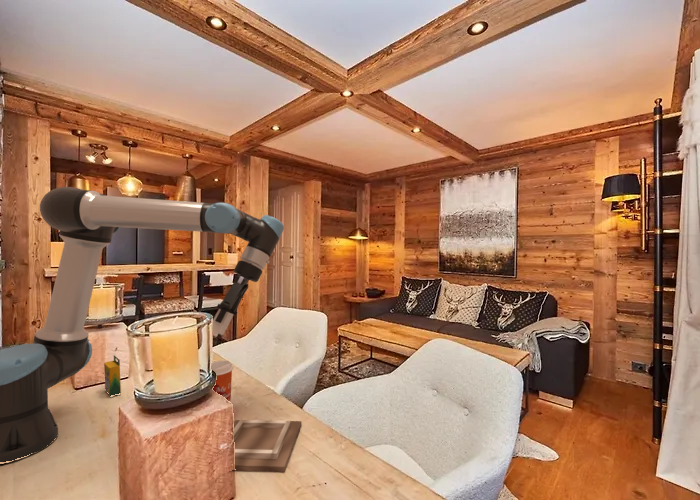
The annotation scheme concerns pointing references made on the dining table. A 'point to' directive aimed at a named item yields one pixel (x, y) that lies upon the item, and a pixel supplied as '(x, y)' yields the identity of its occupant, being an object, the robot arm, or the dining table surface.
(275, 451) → the walnut board
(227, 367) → the coffee cup
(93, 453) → the dining table surface
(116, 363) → the crayon box
